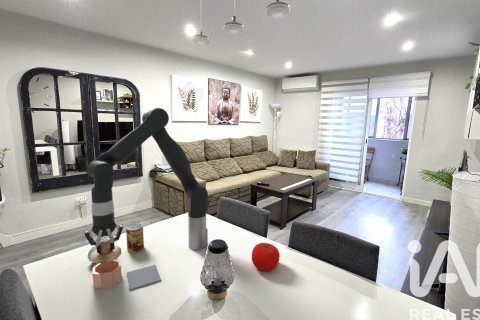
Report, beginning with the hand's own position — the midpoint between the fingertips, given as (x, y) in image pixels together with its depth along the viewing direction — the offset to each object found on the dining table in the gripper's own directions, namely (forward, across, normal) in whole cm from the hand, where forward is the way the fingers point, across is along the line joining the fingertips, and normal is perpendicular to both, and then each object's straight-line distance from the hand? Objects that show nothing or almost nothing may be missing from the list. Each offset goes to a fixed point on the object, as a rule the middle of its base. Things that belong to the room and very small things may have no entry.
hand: (105, 251), depth 96 cm
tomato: (+13, -63, +23) cm, 68 cm away
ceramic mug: (+13, +1, -16) cm, 21 cm away
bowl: (+13, 0, 0) cm, 13 cm away
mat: (+12, -13, +5) cm, 19 cm away
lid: (+2, 0, 0) cm, 2 cm away
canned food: (+13, -13, -21) cm, 28 cm away
